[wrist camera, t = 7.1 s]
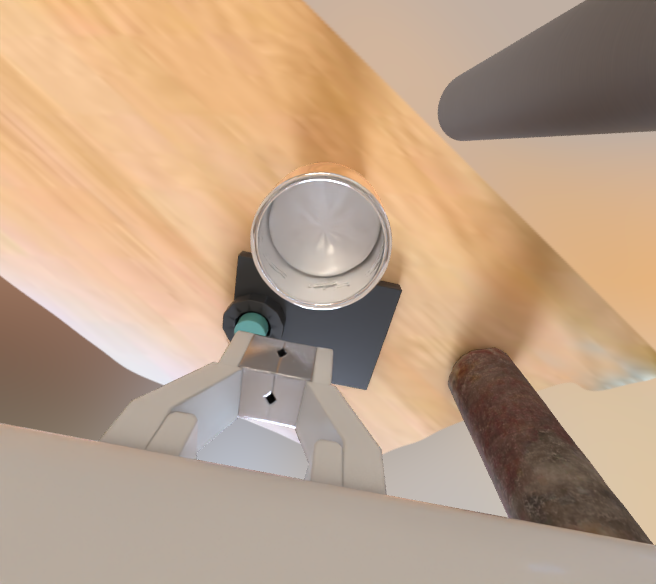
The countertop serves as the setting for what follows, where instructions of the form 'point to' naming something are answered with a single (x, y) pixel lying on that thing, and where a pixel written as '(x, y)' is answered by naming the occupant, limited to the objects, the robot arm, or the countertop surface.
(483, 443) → the candle
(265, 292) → the scale
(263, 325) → the button
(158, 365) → the countertop surface
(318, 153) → the countertop surface
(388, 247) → the beer glass
